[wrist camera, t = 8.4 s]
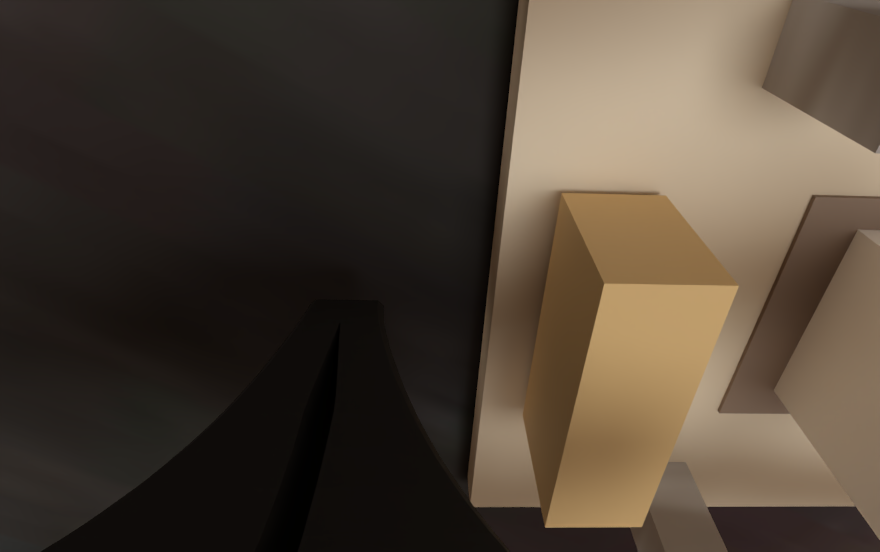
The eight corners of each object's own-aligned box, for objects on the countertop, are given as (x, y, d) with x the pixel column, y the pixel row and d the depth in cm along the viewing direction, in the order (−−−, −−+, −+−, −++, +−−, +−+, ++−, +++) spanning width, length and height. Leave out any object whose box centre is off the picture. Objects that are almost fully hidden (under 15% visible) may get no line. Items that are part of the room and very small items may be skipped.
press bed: (974, 477, 18) (1099, 609, 15) (467, 477, 17) (479, 617, 14) (1410, -19, 10) (1877, 24, 7) (525, -61, 10) (582, -34, 6)
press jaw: (602, 415, 14) (641, 527, 12) (522, 415, 14) (544, 527, 12) (666, 195, 11) (738, 285, 8) (561, 192, 11) (604, 283, 8)
